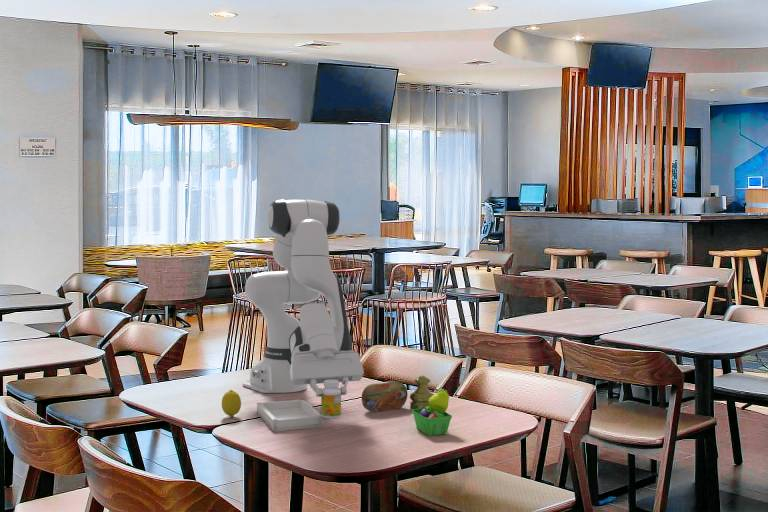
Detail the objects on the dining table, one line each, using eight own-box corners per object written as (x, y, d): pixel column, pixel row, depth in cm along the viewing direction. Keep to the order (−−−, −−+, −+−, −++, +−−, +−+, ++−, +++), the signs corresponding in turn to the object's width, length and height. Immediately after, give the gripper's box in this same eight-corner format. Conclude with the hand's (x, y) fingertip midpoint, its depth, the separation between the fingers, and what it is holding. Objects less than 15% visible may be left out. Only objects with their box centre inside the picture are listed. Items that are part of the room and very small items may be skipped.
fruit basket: (410, 427, 253) (410, 387, 252) (439, 424, 256) (439, 384, 256) (426, 437, 243) (427, 395, 242) (457, 434, 246) (457, 392, 245)
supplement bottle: (317, 416, 248) (317, 380, 248) (331, 412, 252) (331, 377, 251) (330, 419, 245) (331, 384, 244) (345, 416, 249) (345, 380, 248)
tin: (365, 414, 268) (365, 385, 268) (359, 412, 271) (359, 384, 270) (408, 407, 276) (408, 380, 276) (402, 405, 279) (402, 378, 278)
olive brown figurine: (405, 407, 276) (405, 375, 275) (427, 405, 279) (428, 373, 278) (416, 413, 269) (416, 379, 269) (438, 410, 272) (438, 377, 271)
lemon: (233, 413, 269) (233, 386, 268) (245, 417, 265) (244, 389, 264) (217, 417, 265) (217, 389, 264) (229, 420, 261) (228, 392, 260)
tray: (257, 412, 270) (257, 402, 269) (303, 409, 274) (303, 399, 274) (273, 431, 249) (273, 420, 249) (323, 426, 253) (323, 416, 253)
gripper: (355, 356, 261) (365, 398, 253) (285, 360, 255) (293, 403, 246) (360, 343, 257) (371, 385, 249) (289, 347, 250) (297, 391, 242)
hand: (331, 394), depth 247 cm, fingers closed on supplement bottle, 5 cm apart
